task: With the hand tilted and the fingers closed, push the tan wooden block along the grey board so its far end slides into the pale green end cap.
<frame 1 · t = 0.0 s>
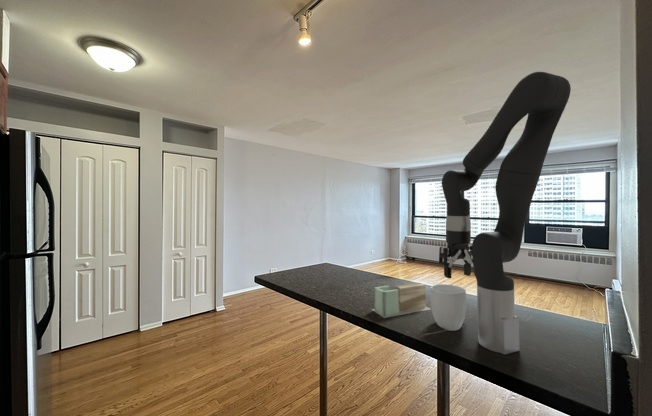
hand: (457, 276, 90), 17 cm above the breakfast bar, tool pointing down, fingers open, 8 cm apart
end cap: (386, 311, 102), resting on board
tan wooden block: (410, 307, 106), point 1 cm above the breakfast bar, touching board
mug: (450, 326, 90), on the breakfast bar
board: (401, 310, 105), on the breakfast bar
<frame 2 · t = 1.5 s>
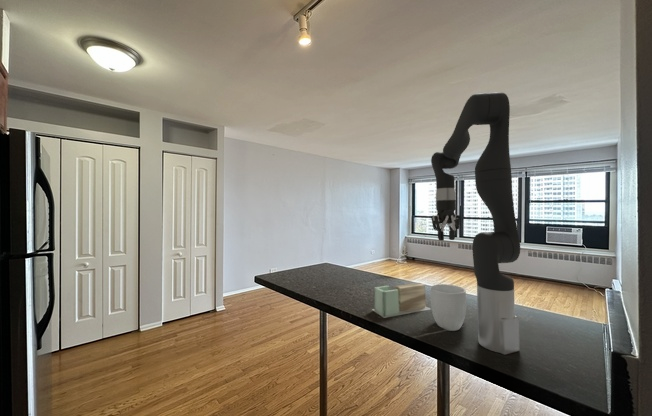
hand: (446, 239, 110), 27 cm above the breakfast bar, tool pointing down, fingers open, 5 cm apart
nothing on the breakfast bar moved.
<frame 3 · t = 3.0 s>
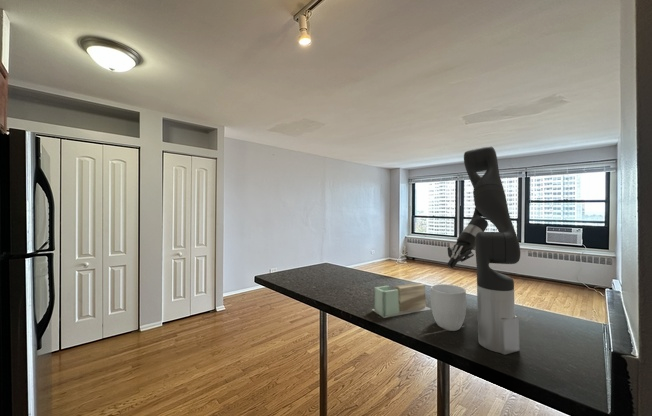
hand: (449, 266, 114), 15 cm above the breakfast bar, tool tilted 45°, fingers closed
nothing on the breakfast bar moved.
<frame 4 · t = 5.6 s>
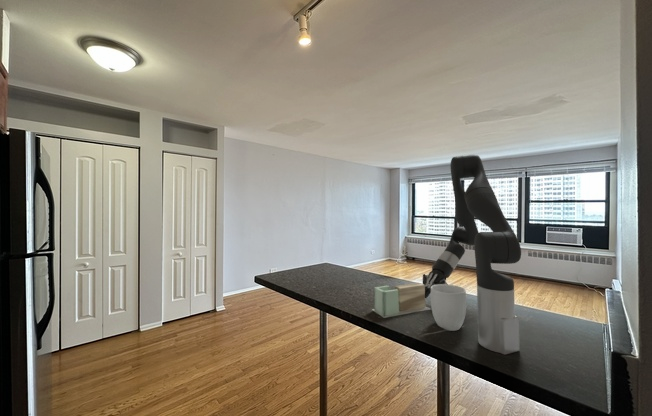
hand: (423, 296, 109), 4 cm above the breakfast bar, tool tilted 45°, fingers closed
tan wooden block: (410, 307, 106), point 1 cm above the breakfast bar, touching gripper
everything else where it was.
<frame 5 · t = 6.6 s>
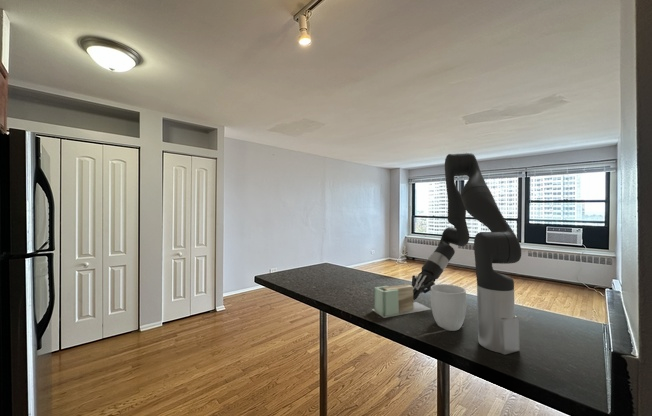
hand: (411, 298, 107), 4 cm above the breakfast bar, tool tilted 45°, fingers closed
tan wooden block: (398, 309, 105), point 1 cm above the breakfast bar, touching board, gripper
everything else where it was.
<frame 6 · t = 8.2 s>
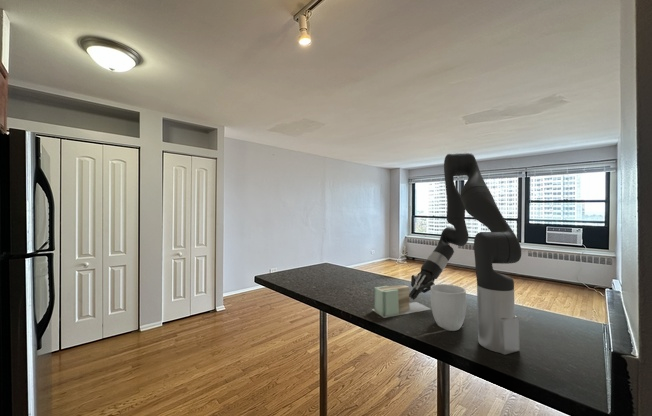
hand: (411, 298, 107), 4 cm above the breakfast bar, tool tilted 45°, fingers closed
tan wooden block: (394, 310, 104), point 1 cm above the breakfast bar, touching board, end cap
everything else where it was.
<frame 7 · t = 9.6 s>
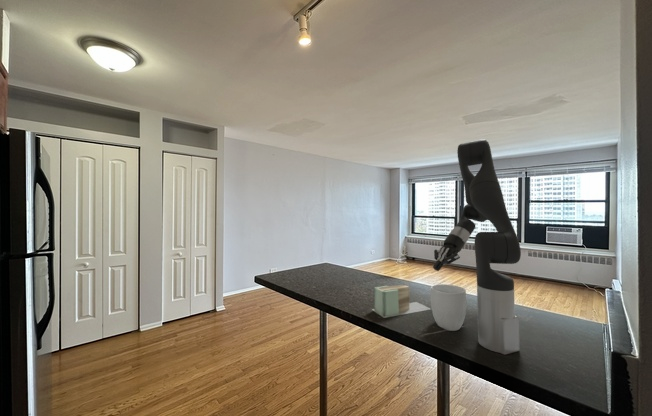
hand: (435, 269, 111), 15 cm above the breakfast bar, tool tilted 45°, fingers closed
nothing on the breakfast bar moved.
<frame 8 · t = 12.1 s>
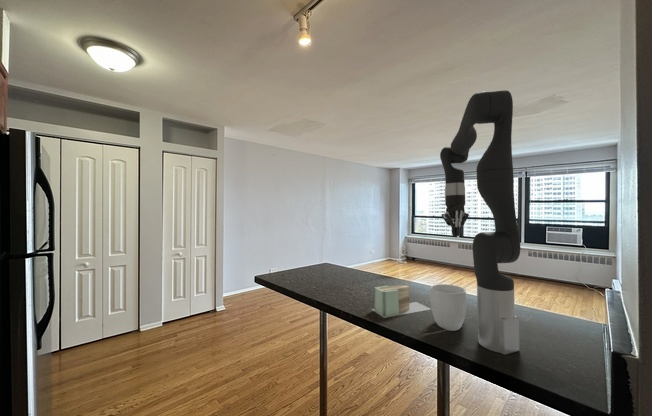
hand: (455, 236, 109), 29 cm above the breakfast bar, tool pointing down, fingers closed
nothing on the breakfast bar moved.
at the end: tan wooden block 0.5 cm from the target spot, point 0.6 cm above the breakfast bar; tan wooden block tilted 0° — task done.
